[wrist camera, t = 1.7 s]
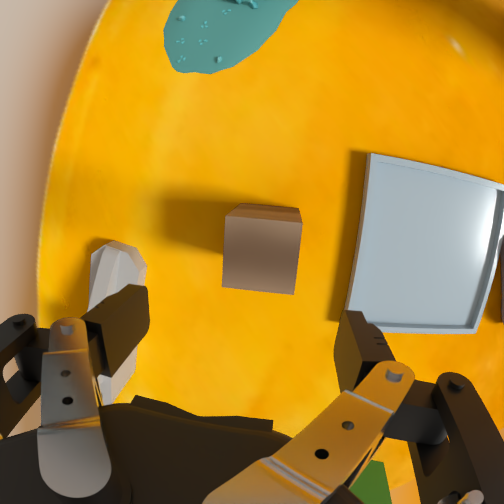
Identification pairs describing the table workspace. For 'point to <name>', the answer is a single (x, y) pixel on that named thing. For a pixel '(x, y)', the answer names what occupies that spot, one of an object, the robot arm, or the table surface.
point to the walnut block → (261, 248)
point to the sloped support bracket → (110, 282)
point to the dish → (425, 247)
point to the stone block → (502, 276)
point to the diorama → (219, 31)
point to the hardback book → (372, 484)
